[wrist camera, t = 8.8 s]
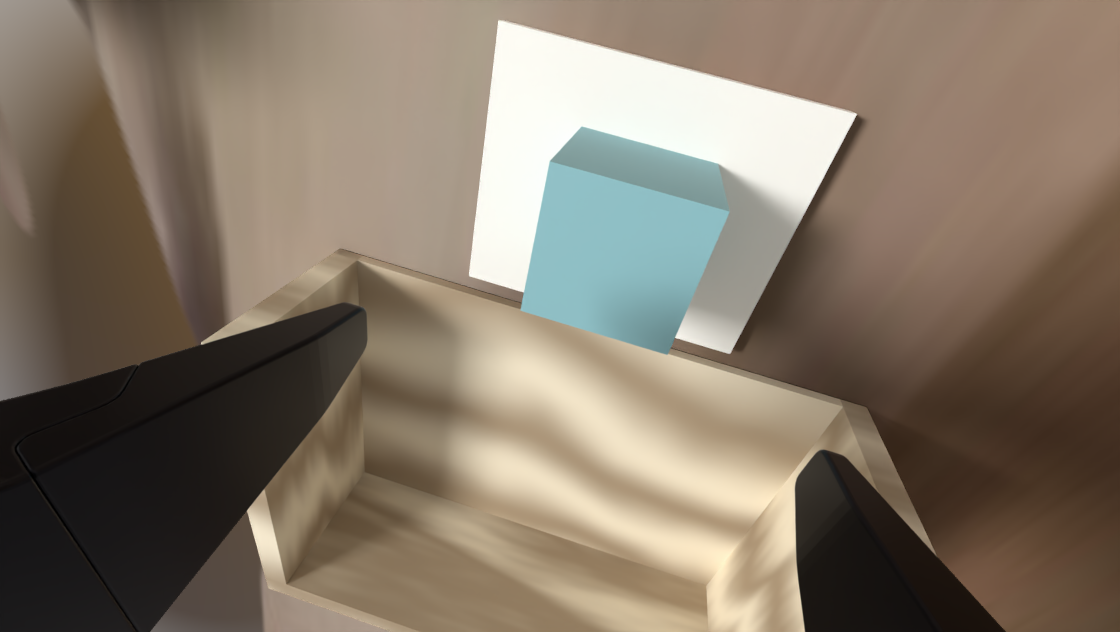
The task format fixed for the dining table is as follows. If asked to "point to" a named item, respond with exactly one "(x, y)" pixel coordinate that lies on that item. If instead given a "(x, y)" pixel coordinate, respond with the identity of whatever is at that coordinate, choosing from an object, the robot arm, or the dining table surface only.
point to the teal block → (623, 238)
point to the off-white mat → (662, 121)
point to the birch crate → (541, 472)
